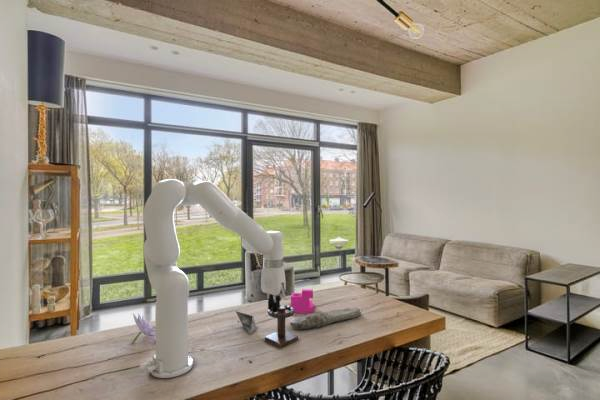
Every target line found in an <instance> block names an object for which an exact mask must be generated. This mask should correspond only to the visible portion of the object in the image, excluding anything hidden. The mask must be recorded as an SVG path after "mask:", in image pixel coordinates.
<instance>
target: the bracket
mask: <svg viewBox="0 0 600 400" xmlns="http://www.w3.org/2000/svg"><path fill="white" fill-rule="evenodd" d="M310 299H311V300H310ZM312 299H314V289H311V288H309V289H304V288H303V289H301V292H291V294H290V307H293V308H294V310H295V313H294V314H310V313H314V303H313V300H312Z"/></svg>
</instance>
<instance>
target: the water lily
mask: <svg viewBox="0 0 600 400" xmlns="http://www.w3.org/2000/svg"><path fill="white" fill-rule="evenodd" d="M137 314H138V315H137V316H136V315H135V314H134V313H133V314H132V316H133V319H134V323H135V325H136V327H137V328H138V329H139V331H140V332H139V333H138V334H137V335H136V336H135V338H134V339H133V341H132V342H131V343H132V344H135V343H136V340H137V339H138V338H139V337H140V335H141V334H143V335H144V336H145V337H146V338H148V339H150V341H154V342H156V337H153V336H156V325H153V326H152V325H150V319H149V318H147V319H146V320H144V319H145V317H144V316H142V317H141V315H140V313H137Z"/></svg>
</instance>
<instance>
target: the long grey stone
mask: <svg viewBox="0 0 600 400" xmlns="http://www.w3.org/2000/svg"><path fill="white" fill-rule="evenodd" d="M361 315H362V312H361V309H360V308H358V307H344V308H339V309H332V310H328V311H320V310H319V311H313V313H304V315H300V316H297V317H295V318H293V319H291V320H290V322H289V326H290V327H291V328H293V329H297V330H299V329H300V330H303V329H306V330H307V329H314V328H316V329H319V328H320V327H323V326H326V325H330V324H332V323H335V322H341V321H345V320H352V319H355V318H358V317H359V316H361Z"/></svg>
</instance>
